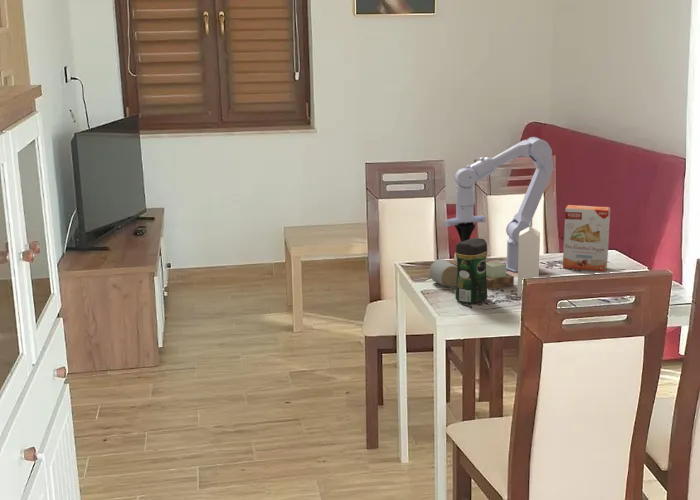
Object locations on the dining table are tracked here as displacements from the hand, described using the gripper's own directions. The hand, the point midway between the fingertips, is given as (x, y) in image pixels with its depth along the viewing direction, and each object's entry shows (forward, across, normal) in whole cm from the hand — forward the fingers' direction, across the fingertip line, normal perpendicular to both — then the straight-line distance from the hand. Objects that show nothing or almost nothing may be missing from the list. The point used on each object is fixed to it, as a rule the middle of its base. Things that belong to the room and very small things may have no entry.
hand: (464, 245), depth 286 cm
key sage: (+6, 0, +19) cm, 20 cm away
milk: (+9, -3, +33) cm, 34 cm away
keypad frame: (+9, 0, +10) cm, 13 cm away
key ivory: (+7, 0, 0) cm, 7 cm away
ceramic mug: (+9, +13, +12) cm, 20 cm away
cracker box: (+9, -37, +16) cm, 41 cm away
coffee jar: (+9, +15, +30) cm, 35 cm away
